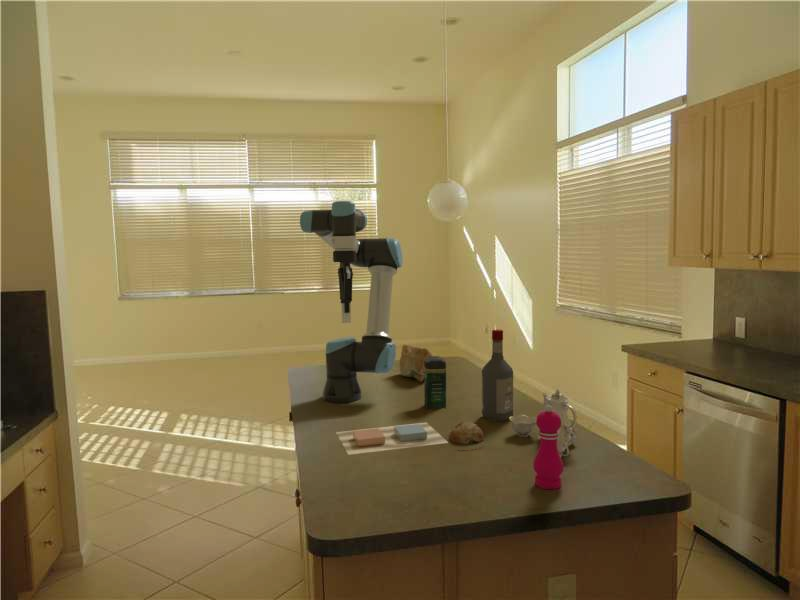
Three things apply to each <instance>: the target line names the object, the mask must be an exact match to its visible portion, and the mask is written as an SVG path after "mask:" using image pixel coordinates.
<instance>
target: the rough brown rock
mask: <svg viewBox="0 0 800 600" xmlns="http://www.w3.org/2000/svg"><path fill="white" fill-rule="evenodd" d="M429 356H434V355H433V354H432V352H431V351H430V350H429V349H428V348H425V347H424V348H421V347H418V346H416V347H415V346H413V345H410V344H403V345H402V349H401V354H400V358H399V371H400V375H401V376H402V377H406V378H407V377H408V378H415V379H416V380H417V381H418V382H419V383H421V382H424V361H425V359H426V358H428V357H429Z"/></svg>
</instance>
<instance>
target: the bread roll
mask: <svg viewBox="0 0 800 600" xmlns="http://www.w3.org/2000/svg"><path fill="white" fill-rule="evenodd" d="M449 440H450V441H452V442H453V443H457V444H461V445H462V444H463V445H468V444H476V443H481V442H483V441H484V440H485V434H484V432H483V430H482V429H481V428H480V427H479V426H478V425H477V424H476V423H474V422H471V421H462V422H459V423H457V424H456V425H455V426H453V427H452V430H450V432H449Z"/></svg>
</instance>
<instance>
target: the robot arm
mask: <svg viewBox="0 0 800 600" xmlns="http://www.w3.org/2000/svg"><path fill="white" fill-rule="evenodd" d="M299 216H300V217H299V225H300V228H301V231H302V232H303V233H306V234H307V233H309V234H312V233H314V234H315V235H317V236H318V237H319V238H320V239H321V240H323V241H324V242H325V243H326V244H327V245H328V246H329V247H330V248H332V249H333V251H332V261H333V262H334V263H339V267H338V268H337V275H338V287H339V300H340V304H341V323H342V324H351V323H352V311H351V310H352V309H351V308H352V307H351V303H352V302H353V277H354V272H353V268H352V267H351V265H352V266H355V267H358V268H367V271H368V272H369V274H371V276H370V286H369V289H370V290H369V295H368V297H369V300H368V310H367V321H366V330H365V331H366V332H365V333H364V334H363V335H362V336H361V341H357V339H356V338H355V337H353V336H349V337H342V338H337V339H332V340H329V341H328V342H327V343H326V345H325V369H326V380H325V383H324V388H323V389H322V390H323V391H322V400H323V401H325V402H328V403H334V404H341V403H343V404H344V403H351V402H355V401H358V400H360V399H362V389H361V387H360V384H359V380H358V377H357V375H358V374H357V373H368V374H369V373H370V374H371V373H373V374H375V373H376V374H387V373H389V372H391V370H392V369H393V367H394V364H395V360H396V356H397V355H396V354H397V352H396V350H397V347H396V344H395V343H394V342H393V339H392V337H391V335H389V332H390V331H389V329H390V317H391V316H390V315H391V305H392V304H391V303H392V293H393V292H392V291H393V282H394V281H393V280H394V279H393V278H394V276H395V275H396V274H397V273H398V268H402V266H403V253H402V248H401V243H400V241H399V240H398V239H397V238H392V237H391V238H388V237H386V238H383V237H382V238H357V233H359V232H362V231H363V230H364V229H365V228H366V226H367V224H368V217H367V214H366V213H365V212H363V211H362V210H360V209H358V208H357V207H356V203H355V201H352V200H351V201H350V200H337V201H333V202H332V203H331V209H315V210H314V209H311V210H304V211H302V212H301V214H300V215H299Z"/></svg>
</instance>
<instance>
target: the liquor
mask: <svg viewBox="0 0 800 600" xmlns="http://www.w3.org/2000/svg"><path fill="white" fill-rule="evenodd" d="M503 340H504V330H503V329H492V331H491V342H492V346H491V347H492V350H491V352H492V353H491V356H490V357H491V358H490V359H489V361H488V362H486V364H485V365H484V366H483V367H482V370H481V414H482V416H483V418H484V420H489V421H493V422H506V421H507V420H510V419H509V418H510V416H514V371H513V368H512V367H511V366H510V364H509V363H508V362H507V361H506V360H505V359H504V351H503V349H504V348H503V346H504V344H503Z"/></svg>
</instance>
